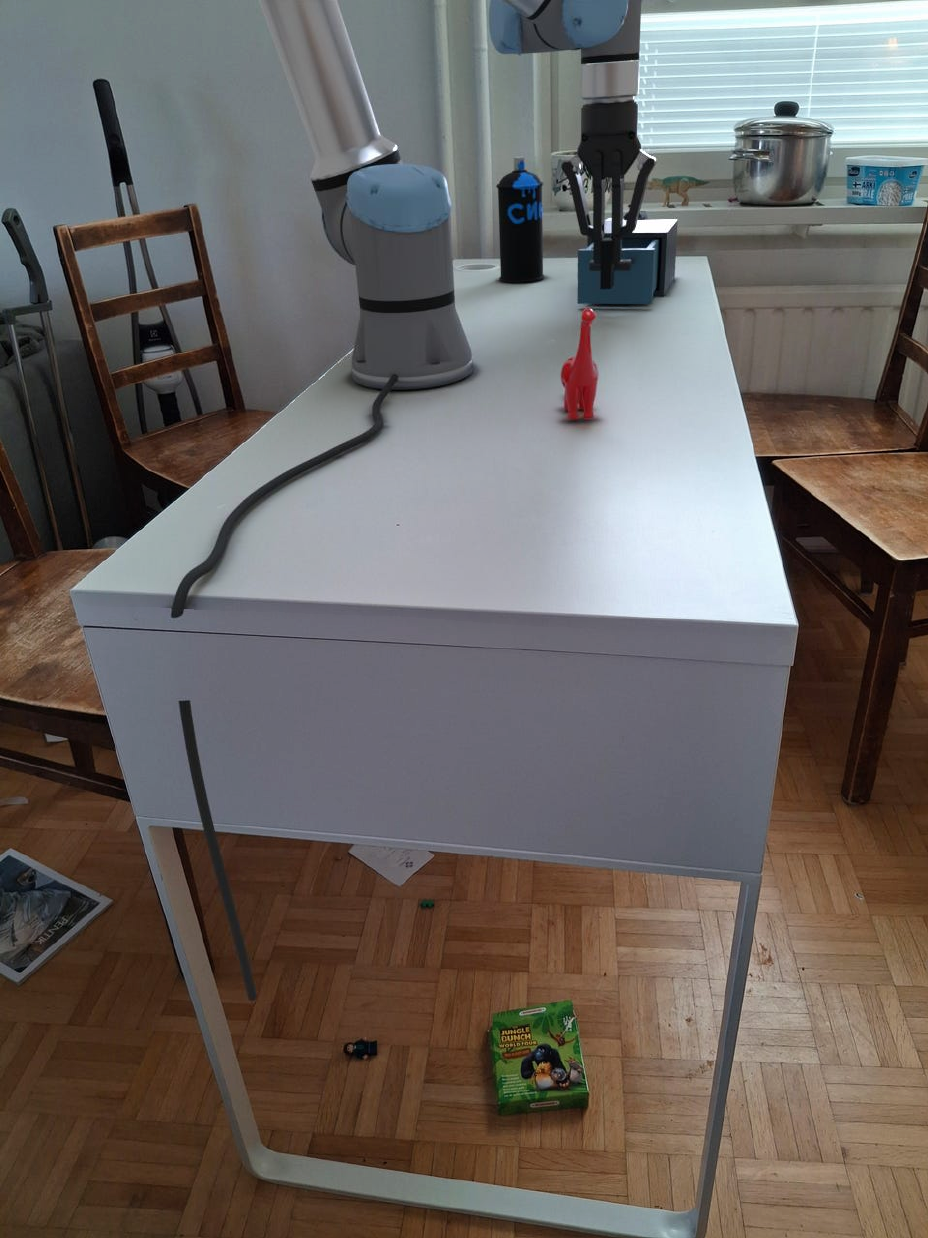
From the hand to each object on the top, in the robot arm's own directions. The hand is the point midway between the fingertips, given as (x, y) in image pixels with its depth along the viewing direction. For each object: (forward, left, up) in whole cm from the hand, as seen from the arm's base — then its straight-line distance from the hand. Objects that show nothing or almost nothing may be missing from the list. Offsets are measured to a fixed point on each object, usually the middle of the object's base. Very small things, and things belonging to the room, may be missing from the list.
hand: (607, 286), depth 135 cm
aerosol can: (+33, +21, -5) cm, 39 cm away
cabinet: (+26, 0, -5) cm, 26 cm away
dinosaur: (-44, -5, -5) cm, 45 cm away
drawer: (+12, 0, -4) cm, 13 cm away
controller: (+55, +4, -5) cm, 56 cm away
